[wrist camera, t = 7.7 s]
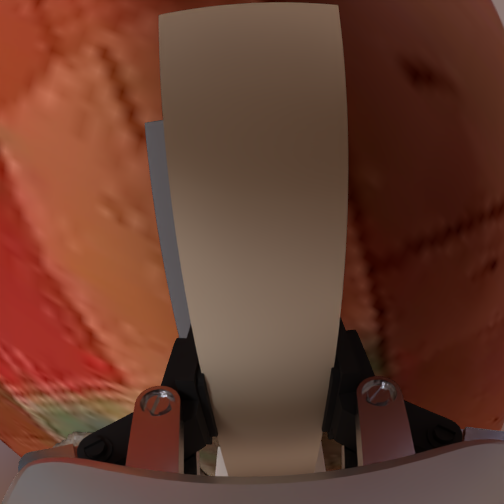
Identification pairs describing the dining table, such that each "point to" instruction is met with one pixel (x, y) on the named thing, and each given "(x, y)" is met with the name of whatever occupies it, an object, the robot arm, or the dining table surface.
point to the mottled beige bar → (260, 216)
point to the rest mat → (166, 223)
